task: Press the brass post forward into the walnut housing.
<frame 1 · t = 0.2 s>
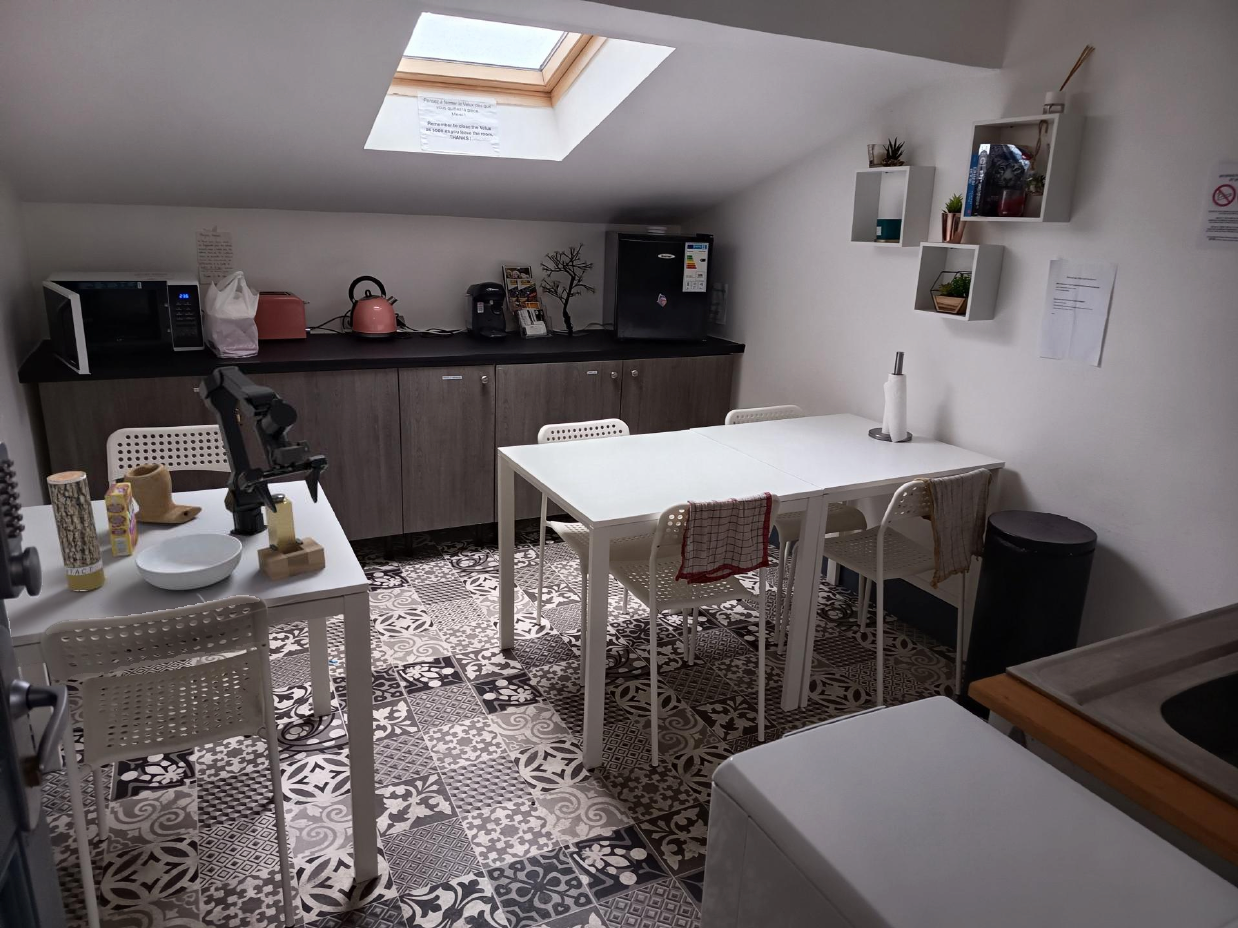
hand: (296, 507, 186), 15 cm above the table, tool tilted 35°, fingers open, 9 cm apart
walnut housing: (291, 567, 191), on the table
tan boot-shaped piece: (163, 521, 216), on the table
paper tube: (87, 586, 181), on the table
serving bowl: (194, 580, 185), on the table
brass post: (281, 528, 192), point 8 cm above the table, slide at 4.0 cm
candy box: (127, 549, 199), on the table
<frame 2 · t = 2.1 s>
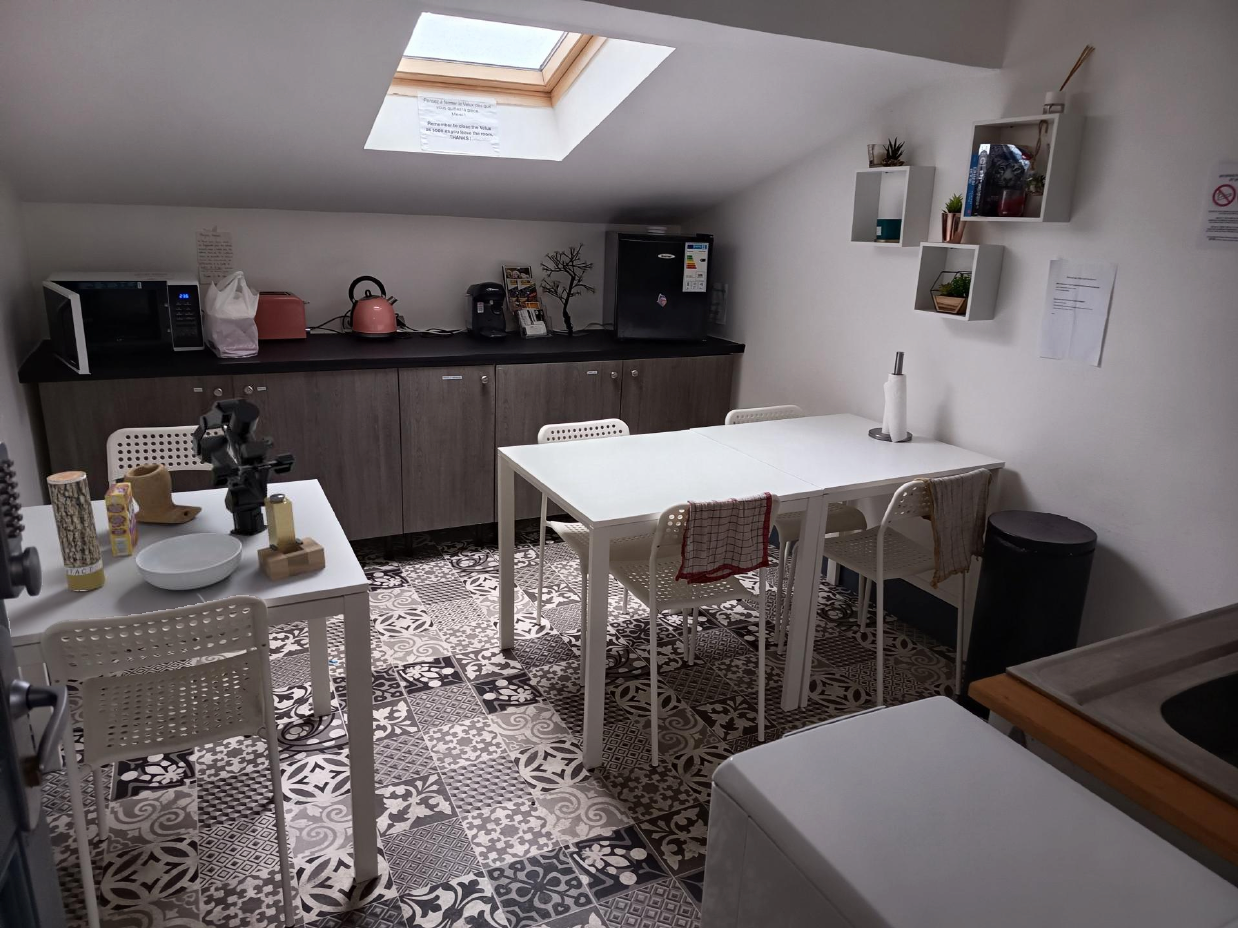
hand: (265, 500, 197), 13 cm above the table, tool tilted 45°, fingers closed
nothing on the table moved.
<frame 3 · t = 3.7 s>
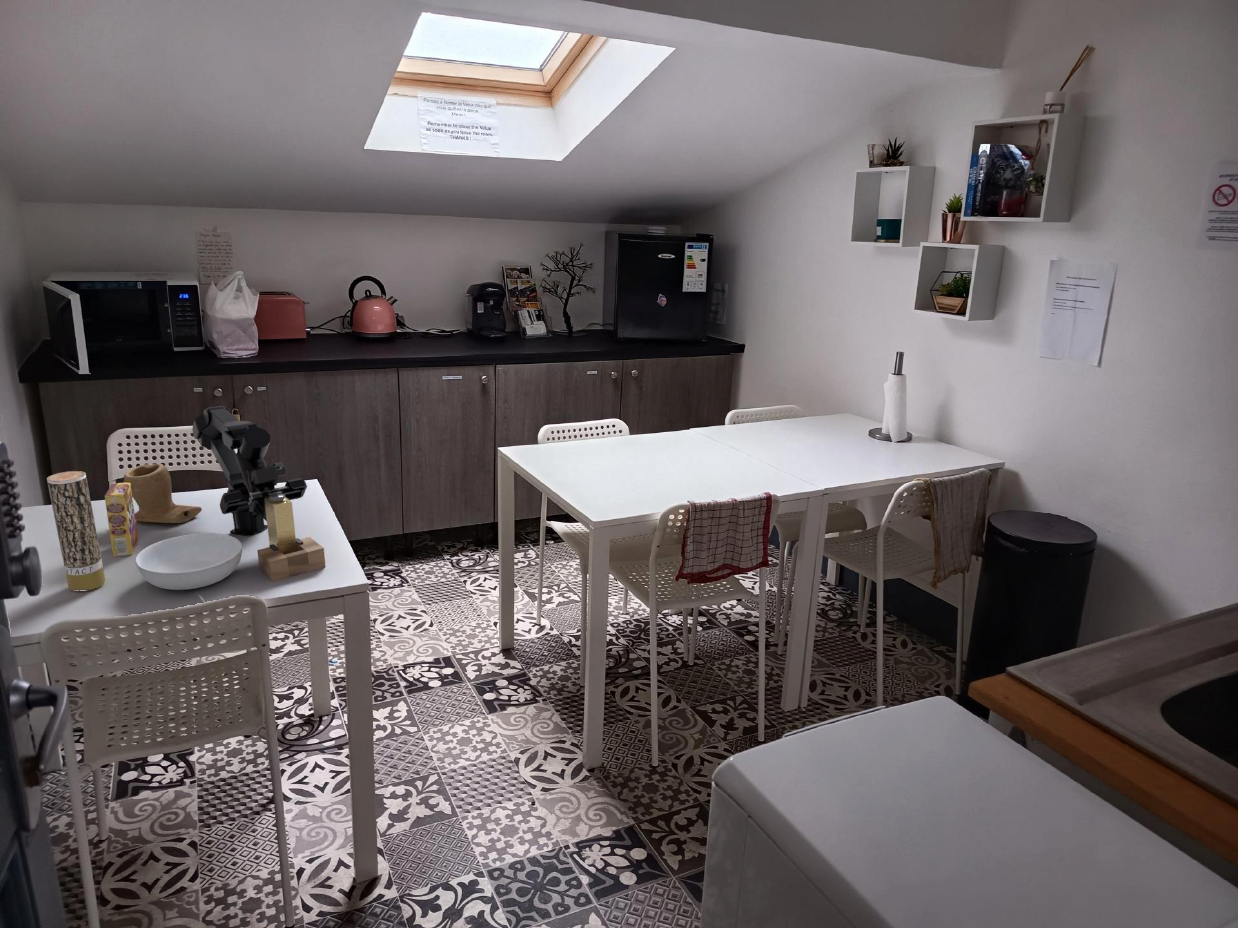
hand: (276, 526, 194), 8 cm above the table, tool tilted 45°, fingers closed, pressing on brass post
brass post: (281, 528, 192), point 8 cm above the table, slide at 3.9 cm, touching gripper
everything else where it was.
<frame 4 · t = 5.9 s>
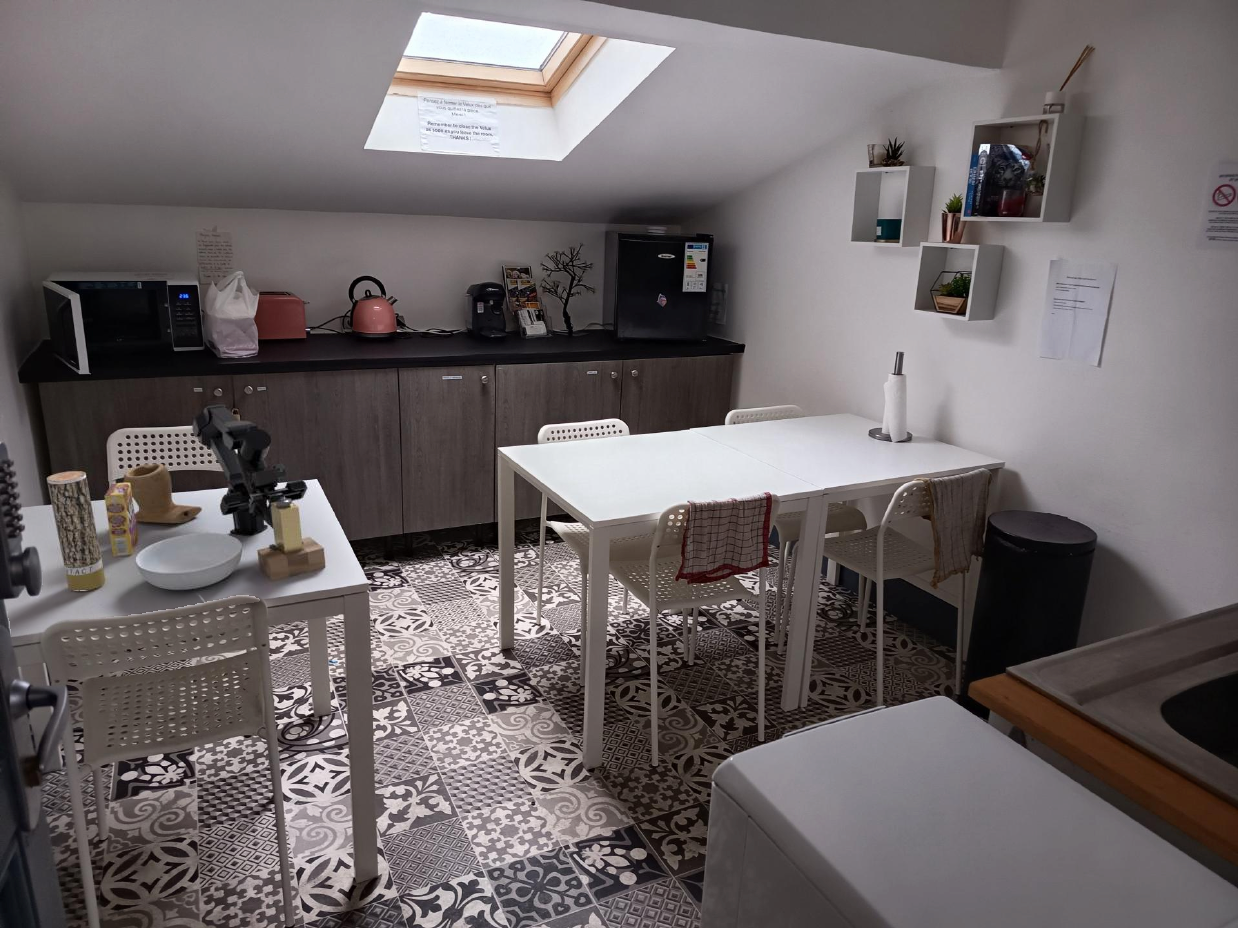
hand: (276, 528, 194), 7 cm above the table, tool tilted 45°, fingers closed
brass post: (287, 534, 189), point 8 cm above the table, slide at 0.0 cm
everything else where it was.
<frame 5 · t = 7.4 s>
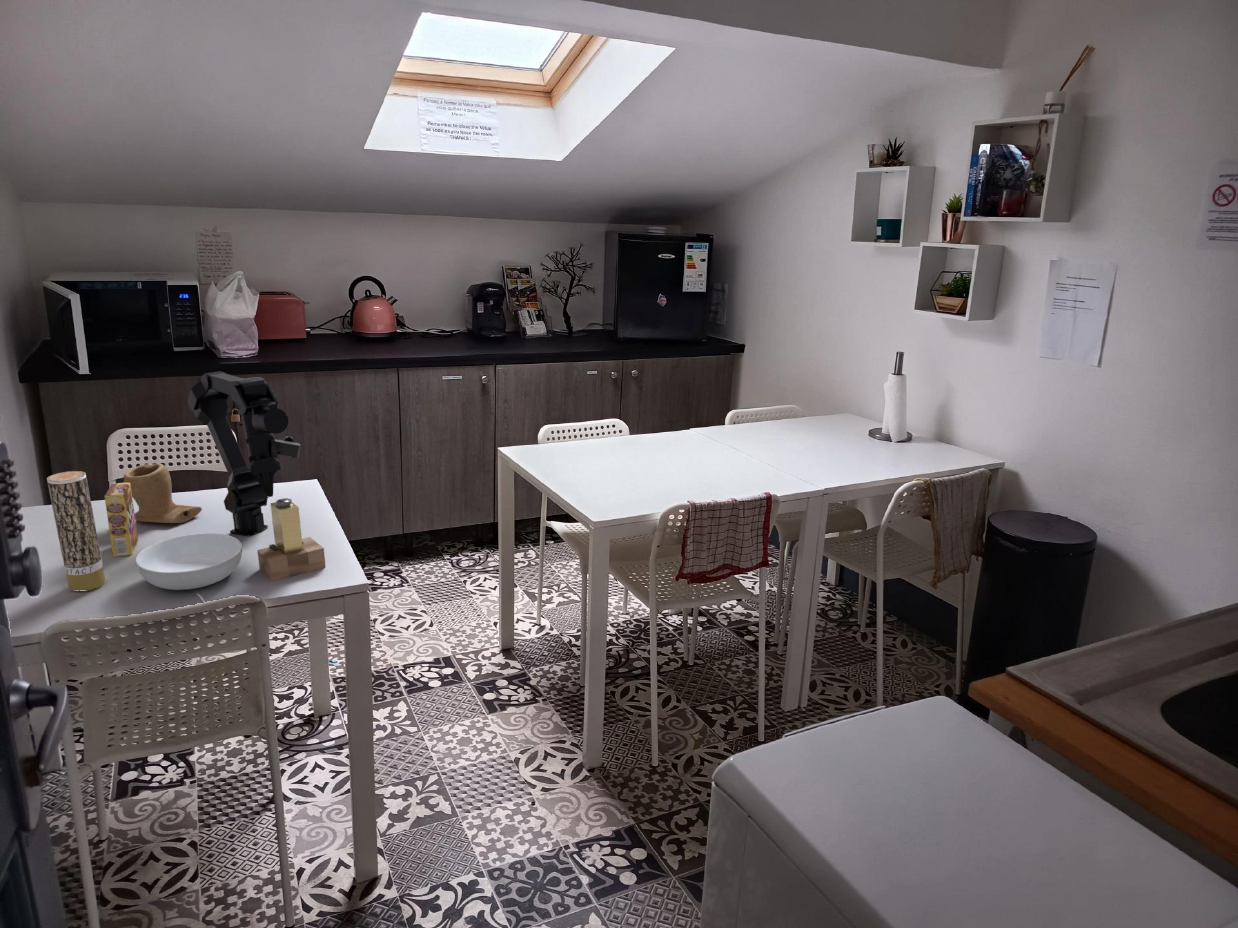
hand: (270, 496, 199), 13 cm above the table, tool pointing down, fingers closed
nothing on the table moved.
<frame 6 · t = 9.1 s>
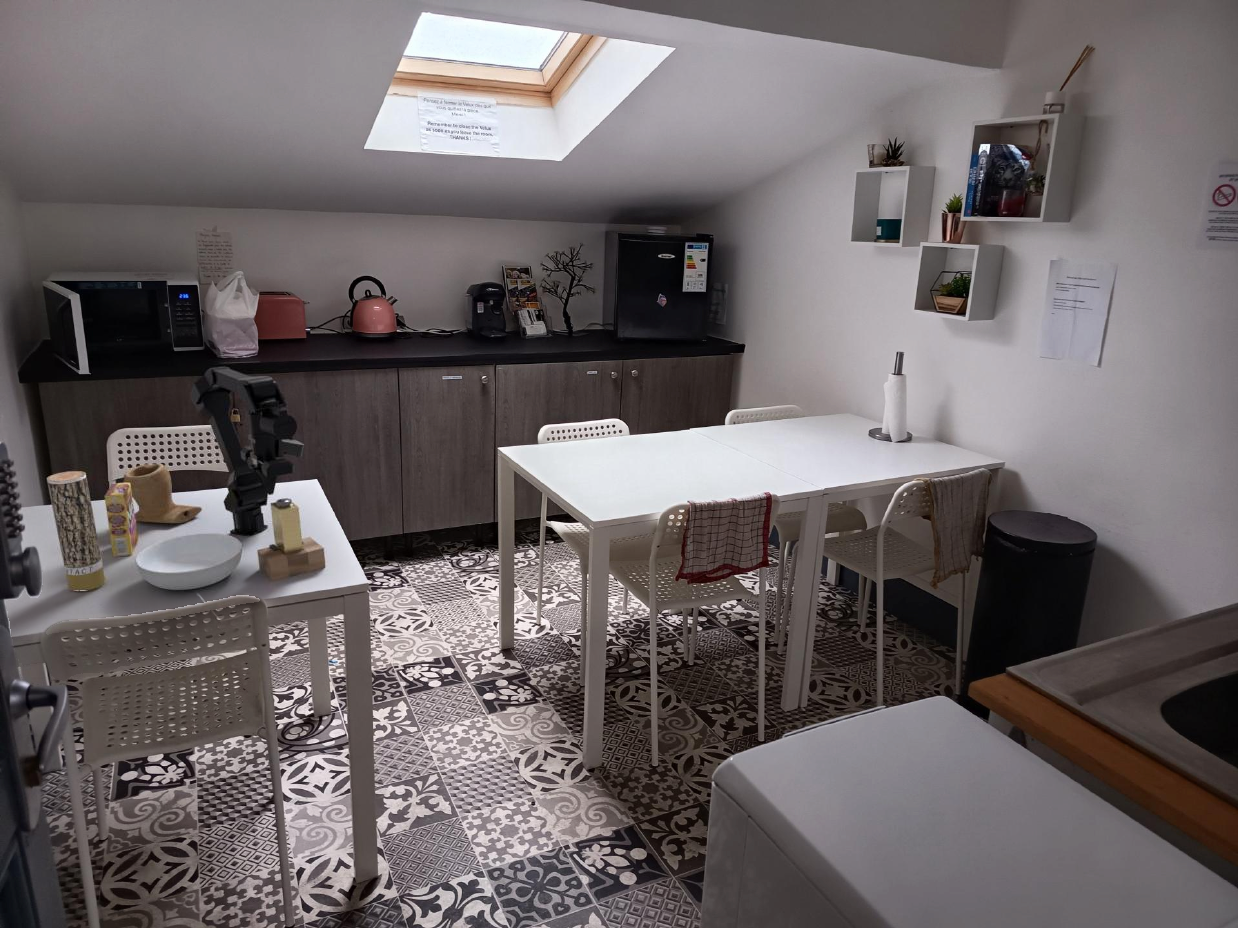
hand: (270, 494, 200), 13 cm above the table, tool pointing down, fingers closed
nothing on the table moved.
at the end: brass post slide at 0.0 cm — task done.
